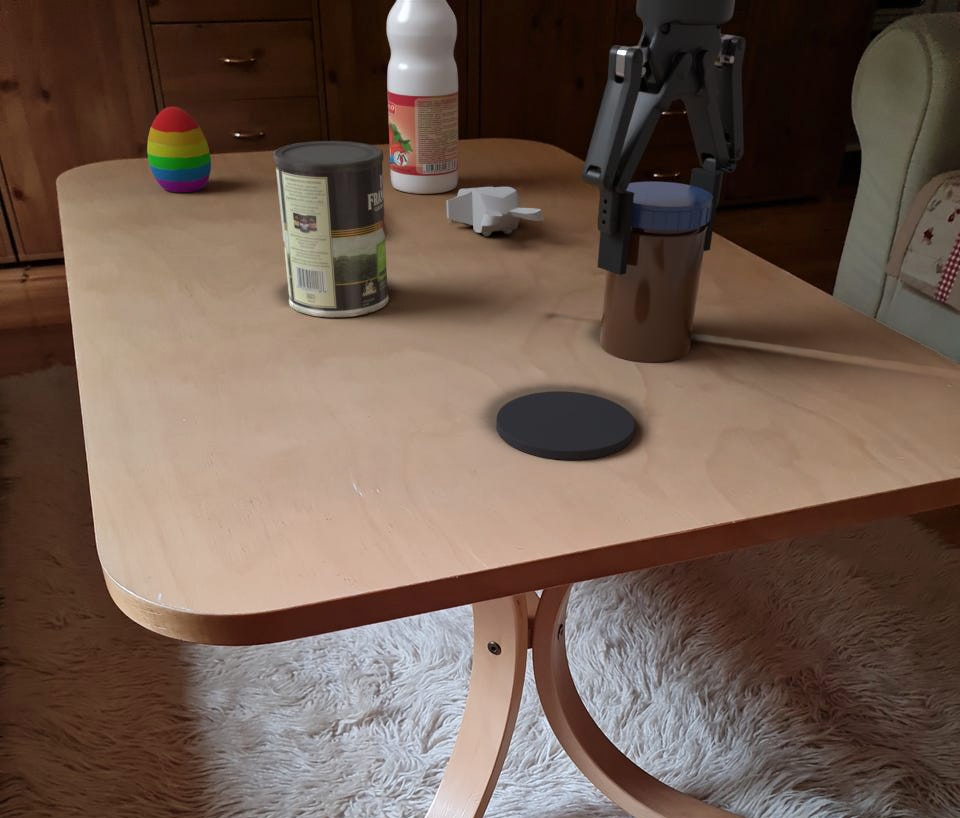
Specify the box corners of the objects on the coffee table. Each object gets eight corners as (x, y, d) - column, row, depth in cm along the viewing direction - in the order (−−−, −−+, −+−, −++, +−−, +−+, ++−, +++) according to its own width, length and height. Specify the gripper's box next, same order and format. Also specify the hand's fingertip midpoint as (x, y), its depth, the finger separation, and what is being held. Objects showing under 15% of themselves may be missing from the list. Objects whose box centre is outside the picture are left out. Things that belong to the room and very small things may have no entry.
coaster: (647, 412, 83) (648, 403, 83) (615, 470, 75) (616, 461, 74) (521, 391, 86) (521, 382, 86) (476, 445, 78) (476, 436, 77)
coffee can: (391, 285, 108) (386, 140, 99) (385, 319, 99) (379, 164, 91) (295, 283, 107) (281, 138, 99) (280, 317, 99) (264, 163, 91)
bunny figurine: (503, 178, 129) (553, 192, 117) (504, 221, 132) (553, 239, 120) (434, 184, 126) (477, 198, 114) (436, 228, 129) (478, 246, 117)
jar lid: (677, 237, 83) (680, 212, 82) (590, 217, 87) (592, 194, 86) (727, 216, 88) (731, 193, 87) (643, 198, 93) (645, 176, 92)
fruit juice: (451, 197, 137) (450, -53, 120) (383, 193, 138) (373, -55, 121) (463, 180, 144) (464, -57, 127) (399, 177, 146) (392, -59, 129)
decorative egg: (143, 186, 139) (128, 105, 133) (196, 177, 143) (185, 99, 137) (170, 198, 134) (156, 115, 128) (225, 189, 138) (214, 108, 132)
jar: (696, 336, 97) (717, 197, 89) (679, 368, 91) (700, 221, 83) (611, 324, 99) (625, 188, 92) (589, 354, 93) (601, 210, 85)
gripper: (745, -47, 85) (705, 227, 98) (546, -38, 73) (531, 272, 86) (820, -41, 80) (768, 245, 94) (622, -31, 68) (594, 295, 82)
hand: (655, 258), depth 90 cm, fingers open, 10 cm apart
